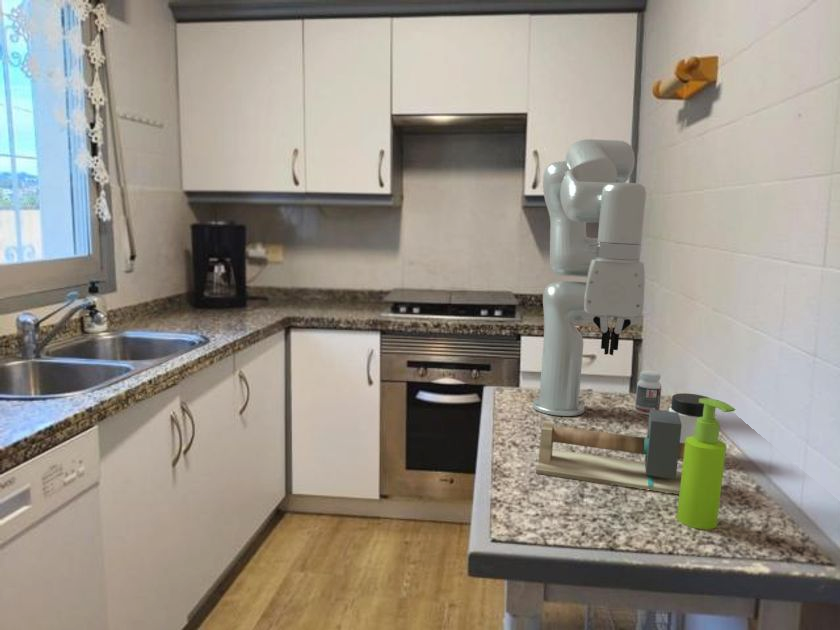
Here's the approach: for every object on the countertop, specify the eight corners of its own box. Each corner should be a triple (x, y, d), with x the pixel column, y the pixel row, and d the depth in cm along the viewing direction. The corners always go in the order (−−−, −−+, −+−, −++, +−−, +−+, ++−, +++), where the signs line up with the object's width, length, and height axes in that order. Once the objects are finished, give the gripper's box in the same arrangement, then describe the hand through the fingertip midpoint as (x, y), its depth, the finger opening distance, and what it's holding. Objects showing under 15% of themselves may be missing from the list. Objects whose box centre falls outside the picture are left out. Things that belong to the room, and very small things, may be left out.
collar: (644, 460, 126) (649, 409, 125) (672, 464, 125) (678, 412, 123) (646, 474, 119) (651, 420, 117) (675, 479, 118) (681, 424, 116)
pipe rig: (543, 451, 134) (546, 416, 133) (703, 474, 126) (708, 436, 124) (535, 473, 123) (538, 434, 121) (711, 500, 114) (716, 458, 113)
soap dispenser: (702, 535, 101) (717, 408, 98) (668, 515, 108) (681, 395, 104) (730, 529, 104) (745, 405, 101) (696, 510, 110) (709, 393, 107)
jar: (692, 466, 130) (698, 406, 128) (656, 452, 136) (662, 396, 135) (718, 458, 135) (725, 401, 133) (683, 445, 141) (689, 391, 140)
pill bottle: (662, 416, 162) (666, 376, 161) (638, 415, 162) (642, 375, 161) (654, 409, 168) (658, 371, 166) (631, 408, 168) (635, 370, 166)
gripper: (573, 251, 117) (565, 353, 120) (663, 257, 113) (652, 362, 116) (576, 249, 125) (568, 345, 128) (661, 254, 120) (651, 353, 123)
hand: (608, 353), depth 122 cm, fingers closed
